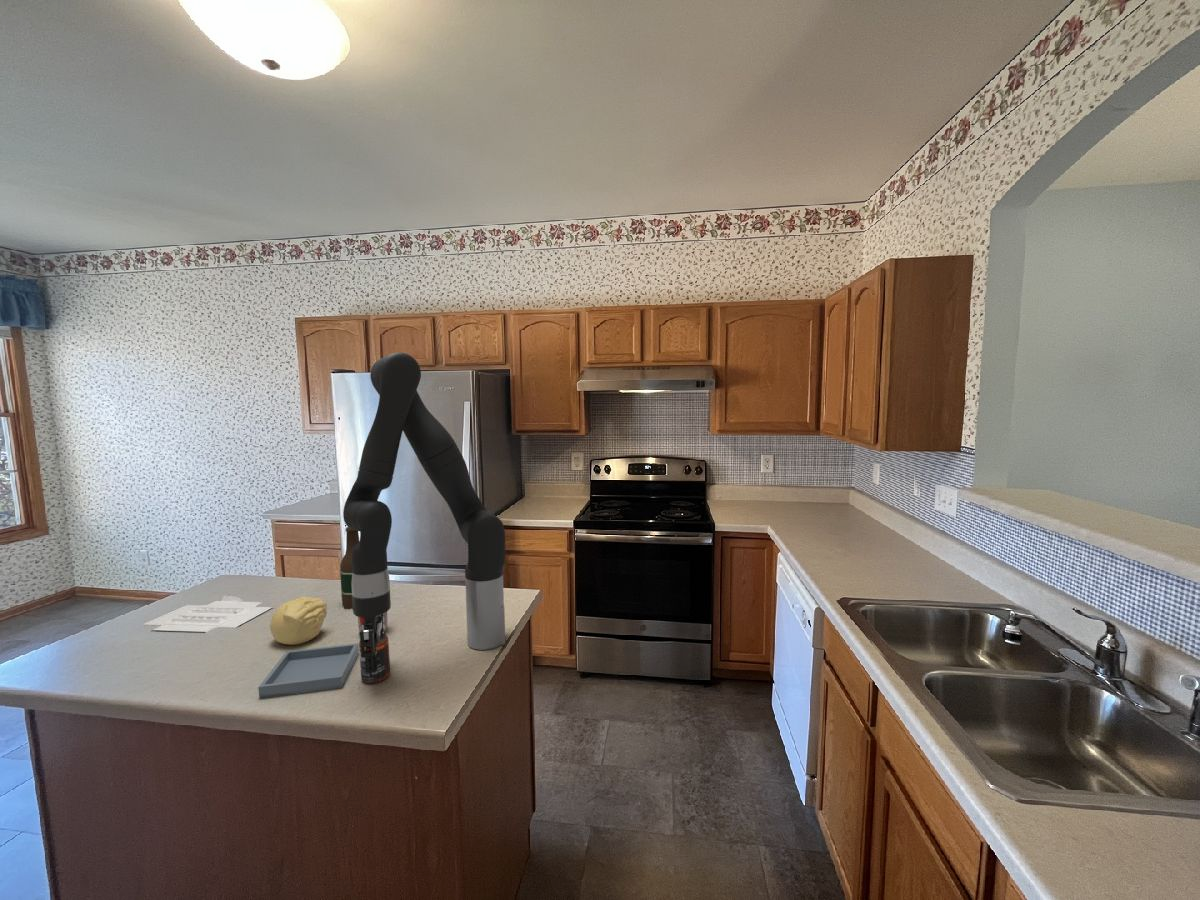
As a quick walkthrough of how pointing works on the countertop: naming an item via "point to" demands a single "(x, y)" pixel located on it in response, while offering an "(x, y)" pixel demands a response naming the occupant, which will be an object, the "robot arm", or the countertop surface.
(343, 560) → the beer bottle
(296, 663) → the tray
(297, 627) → the sculpture
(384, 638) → the supplement bottle
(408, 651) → the countertop surface
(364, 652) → the robot arm
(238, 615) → the paper sheets
